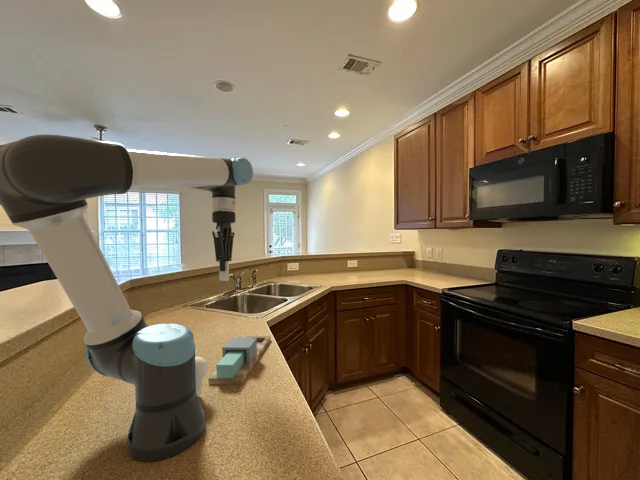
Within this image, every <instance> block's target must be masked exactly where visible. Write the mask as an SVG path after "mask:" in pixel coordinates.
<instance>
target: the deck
mask: <svg viewBox="0 0 640 480" xmlns="http://www.w3.org/2000/svg"><path fill="white" fill-rule="evenodd" d="M245 337H253V338H257V355H256V356H255V358H254V359H253V361H252V362H251V364H250V365H247V360H246V362H245V363H244V365H243V366H242V367H241V369H240V370H239V371H238V373H237V374H236V375H235V377H234V378H217V370H215V371H213V373H212V374H211V375H210V376H209V377H208V385H239V386H241V385H242V384H243V383H244V382H245V380H246V378H247V377H248V375H249V374H250V373H251V371H252V370H253V368H254V366H255V365H256V363H257V362H258V360H259V359H260V357H261V356H262V354H263V352H264V351H265V350H266V348H267V346H268V344H269V343H270V341H271V340H272V339H271V336H269V335H268V336H266V335H265V336H264V335H262V336H261V335H260V336H259V335H258V336H257V335H251V336H250V335H247V336H245Z"/></svg>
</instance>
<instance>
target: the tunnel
mask: <svg viewBox="0 0 640 480" xmlns="http://www.w3.org/2000/svg"><path fill="white" fill-rule="evenodd" d="M221 349H222V358H223V357H224V356H225V355H226V354H227V353H228V352H229V351H230V350H246V360H247V365H250V364H251V362H252V361H253V359H254V358H255V356H256V355H257V338H239V337H232V338H230V339H229V340H228V341H227V342H226V343H225V344H224V345H223V346H222V347H221Z"/></svg>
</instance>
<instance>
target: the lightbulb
mask: <svg viewBox="0 0 640 480" xmlns="http://www.w3.org/2000/svg"><path fill="white" fill-rule="evenodd" d="M208 369H209V368H208V362H207V361H206V360H205V358H203V357H201V356H195V376H196V394H197V396H198V398H199V397H200V396H201V395H202V391H203V389H202V388H203V382H204V379H205V376H206V374H207V372H208Z"/></svg>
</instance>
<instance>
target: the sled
mask: <svg viewBox="0 0 640 480" xmlns="http://www.w3.org/2000/svg"><path fill="white" fill-rule="evenodd" d="M238 338H253V337H246V336H239V337H238ZM245 362H246V350H230V351H229V352H228V353H227V354H226V355H225V356H224V357H223V356H222V358H221V359H220V360H219V361H218V362H217V363H216V367H215V368H216V370H217V378H234V377H235V375H236V374H237V373H238V371H239V370H240V369H241V367H242V366H243V365H244V363H245ZM216 370H215V371H216Z"/></svg>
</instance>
